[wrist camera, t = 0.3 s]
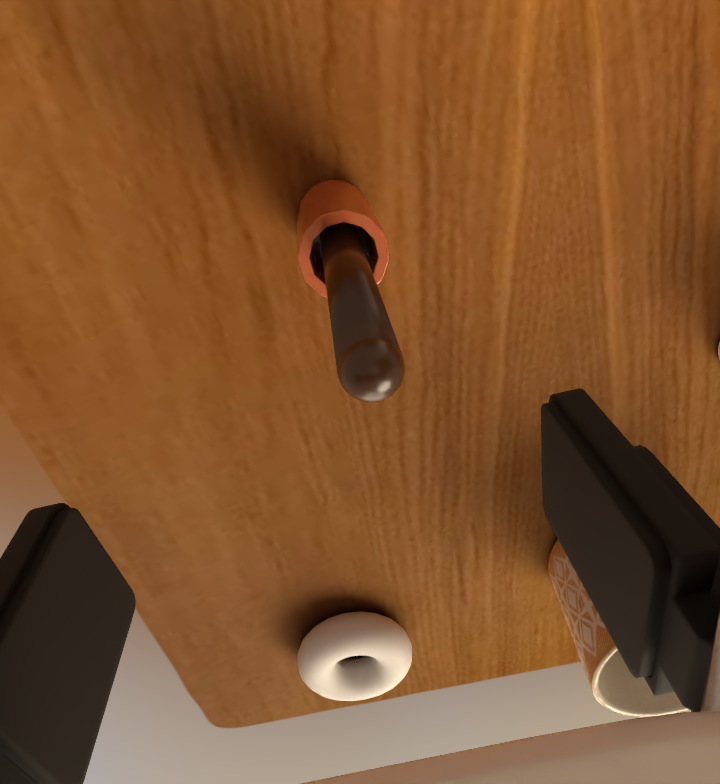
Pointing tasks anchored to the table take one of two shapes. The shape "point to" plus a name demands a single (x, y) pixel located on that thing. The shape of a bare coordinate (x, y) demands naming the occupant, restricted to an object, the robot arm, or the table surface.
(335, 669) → the donut
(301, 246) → the holder
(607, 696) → the planter
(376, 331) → the stick
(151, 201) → the table surface
